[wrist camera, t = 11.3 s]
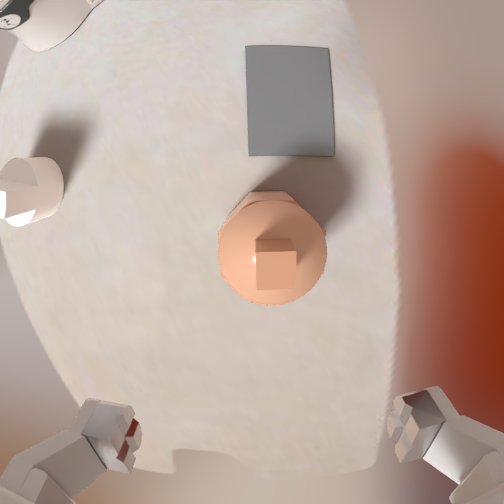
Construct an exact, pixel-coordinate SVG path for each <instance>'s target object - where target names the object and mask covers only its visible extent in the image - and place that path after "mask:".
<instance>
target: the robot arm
mask: <svg viewBox="0 0 504 504" xmlns="http://www.w3.org/2000/svg"><path fill="white" fill-rule="evenodd" d="M102 1H103V0H0V29H6V30H8V31H9V32H10V33H12V34H14V35H15V36H16V37H18V38H19V39H20V40H21V41H23V42H24V43H25V44H26V45H27V46H28V48H29V49H31V50H33V51H37V52H39V51H45V50H48V49H50V48H52V47H54V46H56V45H58V44H59V43H61V42H62V41H64V40H65V39H66V38H67V37H68V36H70V35H71V34H72V33H73V32H74V31H75V30H76V29H77V28H78V26H79V25H80V24H81V23H82V22H83V20H84V19H85V18H86V16H87V15H88V14H89V12H90V11H91V10H92V9H93V8H94V7H95V6H97V5H98V4H99V3H100V2H102ZM393 406H394V409H393V411H391V412H390V413H389V415H388V418H387V432H388V435H389V437H390V439H391V440H392V441H394V442H396V446H395V449H394V450H395V452H396V454H397V457H398V459H399V461H400V463H405V462H409V461H412V460H415V459H419V458H422V457H423V459H424V460H426V461H427V462H428V463H430V464H431V465H433V466H434V467H435V468H437V469H438V470H440V471H441V472H442V473H444V474H445V475H447V476H448V477H449V478H451V479H452V480H454V481H455V482H456V483H458V484H459V486H458V487H457V488H456V489H455V490H454V492H452V494H451V495H450V501H451V503H452V504H504V433H502V432H500V431H497V430H495V429H493V428H490V427H488V426H486V425H484V424H481V423H479V422H477V421H475V420H473V419H470V418H468V417H466V416H464V415H463V416H460V415H459V414H458V413H457V411H456V410H455V408H454V407H453V405H452V404H451V402H450V401H449V400H448V398H447V397H446V395H445V394H444V392H443V391H442V390H441V388H440V387H438V386H434V387H430V388H426V389H423V390H418V391H414V392H410V393H406V394H402V395H398V396H397V397H396V398H395V399H394V402H393ZM134 414H135V413H134V410H133V408H132V406H129V405H123V404H118V403H112V402H107V401H101V400H97V399H92V398H89V399H87V400H85V402H84V404H83V405H82V407H81V409H80V410H79V412H78V414H77V415H76V417H75V419H74V420H73V422H72V424H71V425H70V427H69V429H68V430H67V431H66V430H63V431H61V432H59V433H57V434H55V435H54V436H52V437H50V438H48V439H46V440H44V441H42V442H40V443H38V444H36V445H34V446H32V447H30V448H28V449H27V450H25V451H23V452H21V453H19V454H17V455H15V456H13V458H12V459H11V461H10V463H9V464H8V466H7V468H6V469H5V471H4V473H3V474H2V476H1V478H0V504H76V503H75V502H74V501H73V500H72V498H74V497H75V496H76V495H77V494H78V493H80V492H81V491H82V490H84V489H85V488H86V487H87V486H89V485H90V484H91V483H92V482H94V481H95V480H96V479H97V478H98V477H100V476H101V475H102V474H103V473H104V472H106V471H107V469H110V470H114V471H119V472H125V473H129V474H130V473H131V471H132V468H133V465H134V462H135V459H136V458H135V456H134V454H133V452H135V451H136V450H137V449H139V447H140V444H141V438H142V432H141V427H140V424H139V422H137V421H136V420H135V419H134V418H133V417H134Z"/></svg>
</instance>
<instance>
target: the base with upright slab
mask: <svg viewBox="0 0 504 504" xmlns="http://www.w3.org/2000/svg"><path fill="white" fill-rule="evenodd" d="M63 194H64V181H63V175H62V172H61V170H60V168H59V166H58V165H57V163H56V162H55V161H54V160H52V159H51V158H48V157H30V158H14V159H12V160H10V161H9V162H8V163H7V164H6V165H5V166H4V168H3V169H2V171H1V173H0V218H2V219H6V220H7V222H8V223H10V224H12V225H13V226H23V225H26V224H29V223H31V222H34V221H37V220H40V219H43V218H46V217H49V216H51V215H52V214H54V213H55V212H56V211H57V209H58V208H59V206H60V204H61V202H62V198H63Z"/></svg>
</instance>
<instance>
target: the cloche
mask: <svg viewBox="0 0 504 504" xmlns="http://www.w3.org/2000/svg"><path fill="white" fill-rule="evenodd" d="M325 232H326V231H325V230H324V229H323V228H322V227H321V226H320V225H319V224H318V223H317V221H316V220H315V219H314V218H313V217H312V216H311V215H310V214H309V213H308V212H307V211H305V210H304V209H303V208H302V207H301V206H300V205H299V204H298V203H297V202H296V201H295V200H294V199H293V198H292V197H290V196H289V195H288V194H287V193H286V192H284V191H266V192H250V193H249V194H248V195H247V196H246V197H245V198H244V199H243V200H242V201H241V202H240V203H239V204H238V206H237V207H236V208H235V209H234V210H233V211H232V212H231V213H230V214H229V215H228V216H227V218H226V220H225V222H224V224H223V226H222V227H221V229H220V231H219V233H218V240H219V247H218V260H219V266H220V271H221V276H222V277H223V278H224V279H225V280H226V282H227V283H228V284H229V286H230V287H231V288H232V289H233V290H234V291H235V292H236V293H237V294H239V295H240V296H242V297H243V298H245V299H247V300H249V301H251V302H252V303H258V304H263V305H281V304H285V303H289V302H292V301H294V300H296V299H298V298H300V297H302V296H303V295H305V294H306V293H307V292H308V291H310V290H311V289H312V288H313V287H314V285H315V284H316V283H317V281H318V280H319V278H320V277H321V275H322V274H323V273H324V267H325V263H326V258H327V246H326V240H325Z"/></svg>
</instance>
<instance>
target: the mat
mask: <svg viewBox="0 0 504 504" xmlns="http://www.w3.org/2000/svg"><path fill="white" fill-rule="evenodd" d="M245 50H246V82H247V114H248V146H249V156H334V126H333V106H332V90H331V76H330V64H329V54H328V49H326V48H314V47H296V46H245Z"/></svg>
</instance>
